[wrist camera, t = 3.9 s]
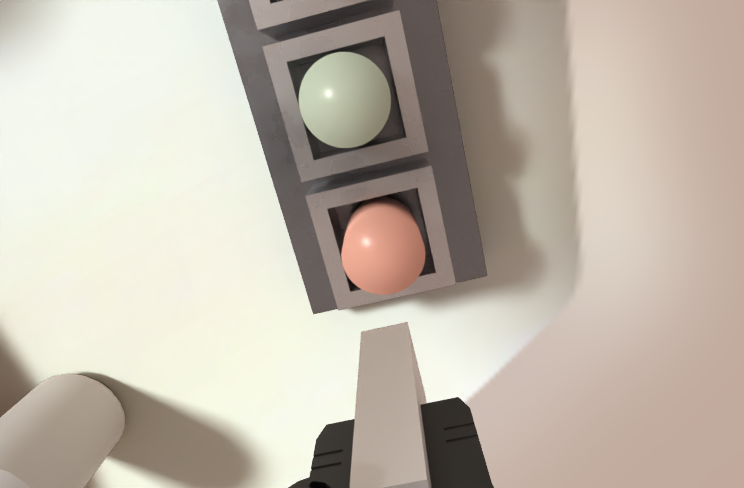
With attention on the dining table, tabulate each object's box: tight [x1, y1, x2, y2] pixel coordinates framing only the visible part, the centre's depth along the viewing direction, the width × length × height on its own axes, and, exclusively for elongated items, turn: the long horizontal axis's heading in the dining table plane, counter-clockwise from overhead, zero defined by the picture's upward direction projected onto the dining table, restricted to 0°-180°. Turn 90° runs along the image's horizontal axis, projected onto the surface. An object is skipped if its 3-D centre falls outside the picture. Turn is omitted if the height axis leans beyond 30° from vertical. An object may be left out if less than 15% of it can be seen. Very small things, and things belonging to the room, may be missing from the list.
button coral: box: [341, 197, 425, 295], centre depth 28 cm, size 4×4×4 cm
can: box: [0, 374, 125, 488], centre depth 33 cm, size 8×8×12 cm
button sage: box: [299, 52, 391, 148], centre depth 25 cm, size 4×4×4 cm
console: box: [218, 0, 487, 314], centre depth 29 cm, size 26×12×6 cm, turn 14°
